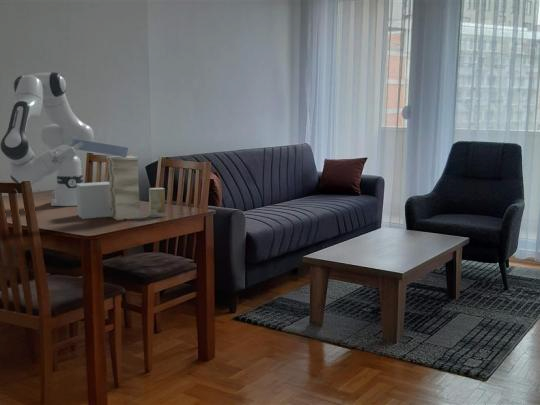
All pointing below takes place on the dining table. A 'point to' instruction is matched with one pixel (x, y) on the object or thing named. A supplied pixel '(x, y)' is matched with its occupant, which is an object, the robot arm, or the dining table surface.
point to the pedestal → (124, 187)
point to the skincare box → (156, 202)
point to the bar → (101, 148)
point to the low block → (93, 200)
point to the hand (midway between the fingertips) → (80, 142)
